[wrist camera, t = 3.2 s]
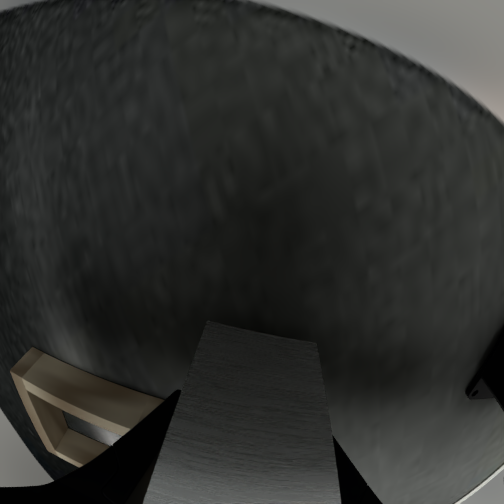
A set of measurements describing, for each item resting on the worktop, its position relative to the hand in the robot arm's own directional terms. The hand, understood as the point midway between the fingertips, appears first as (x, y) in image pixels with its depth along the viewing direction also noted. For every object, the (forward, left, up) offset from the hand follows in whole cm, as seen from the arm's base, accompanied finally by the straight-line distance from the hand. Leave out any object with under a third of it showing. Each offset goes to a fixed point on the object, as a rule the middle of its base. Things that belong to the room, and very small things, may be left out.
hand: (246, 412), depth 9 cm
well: (+8, +9, -3) cm, 12 cm away
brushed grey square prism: (0, 0, -2) cm, 2 cm away
